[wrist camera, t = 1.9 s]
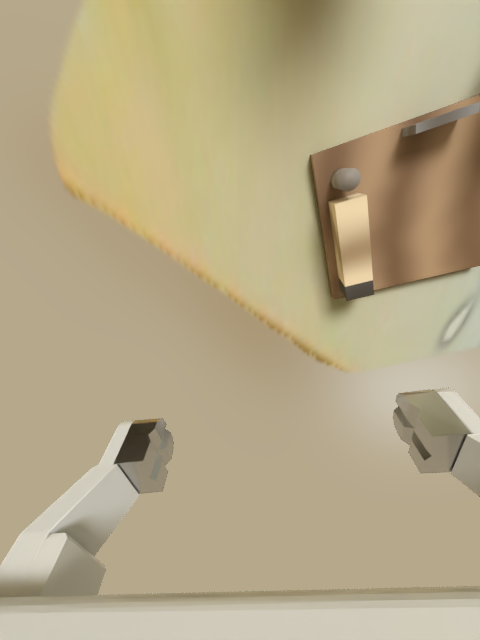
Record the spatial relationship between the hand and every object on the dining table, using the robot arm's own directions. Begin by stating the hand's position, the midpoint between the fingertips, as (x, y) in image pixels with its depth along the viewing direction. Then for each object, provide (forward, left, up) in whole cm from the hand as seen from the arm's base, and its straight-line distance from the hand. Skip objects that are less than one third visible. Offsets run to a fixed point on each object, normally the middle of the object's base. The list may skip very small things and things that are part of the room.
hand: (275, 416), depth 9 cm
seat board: (-13, 0, -21) cm, 24 cm away
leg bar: (-8, +1, -20) cm, 21 cm away
